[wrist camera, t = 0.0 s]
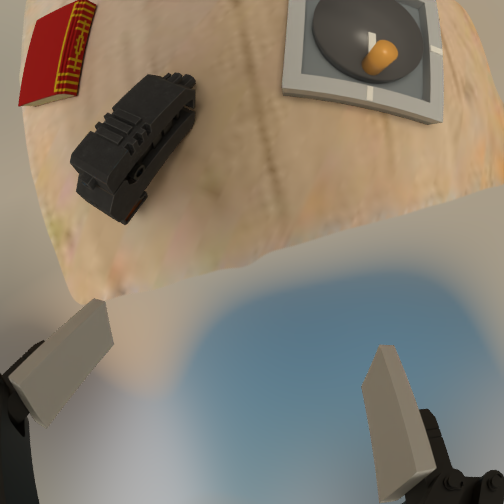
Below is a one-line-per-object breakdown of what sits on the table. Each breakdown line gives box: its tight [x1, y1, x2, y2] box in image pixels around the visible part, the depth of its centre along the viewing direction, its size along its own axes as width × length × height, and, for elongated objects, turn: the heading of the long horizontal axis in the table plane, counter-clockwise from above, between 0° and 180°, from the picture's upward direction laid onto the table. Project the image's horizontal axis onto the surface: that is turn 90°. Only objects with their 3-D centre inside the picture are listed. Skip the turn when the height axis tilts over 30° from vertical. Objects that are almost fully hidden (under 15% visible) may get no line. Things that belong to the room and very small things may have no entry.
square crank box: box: [282, 0, 444, 125], centre depth 25 cm, size 20×20×5 cm
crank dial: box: [312, 0, 424, 84], centre depth 21 cm, size 14×14×8 cm
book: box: [18, 0, 96, 107], centre depth 30 cm, size 18×13×5 cm
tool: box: [70, 73, 196, 225], centre depth 31 cm, size 6×19×15 cm
